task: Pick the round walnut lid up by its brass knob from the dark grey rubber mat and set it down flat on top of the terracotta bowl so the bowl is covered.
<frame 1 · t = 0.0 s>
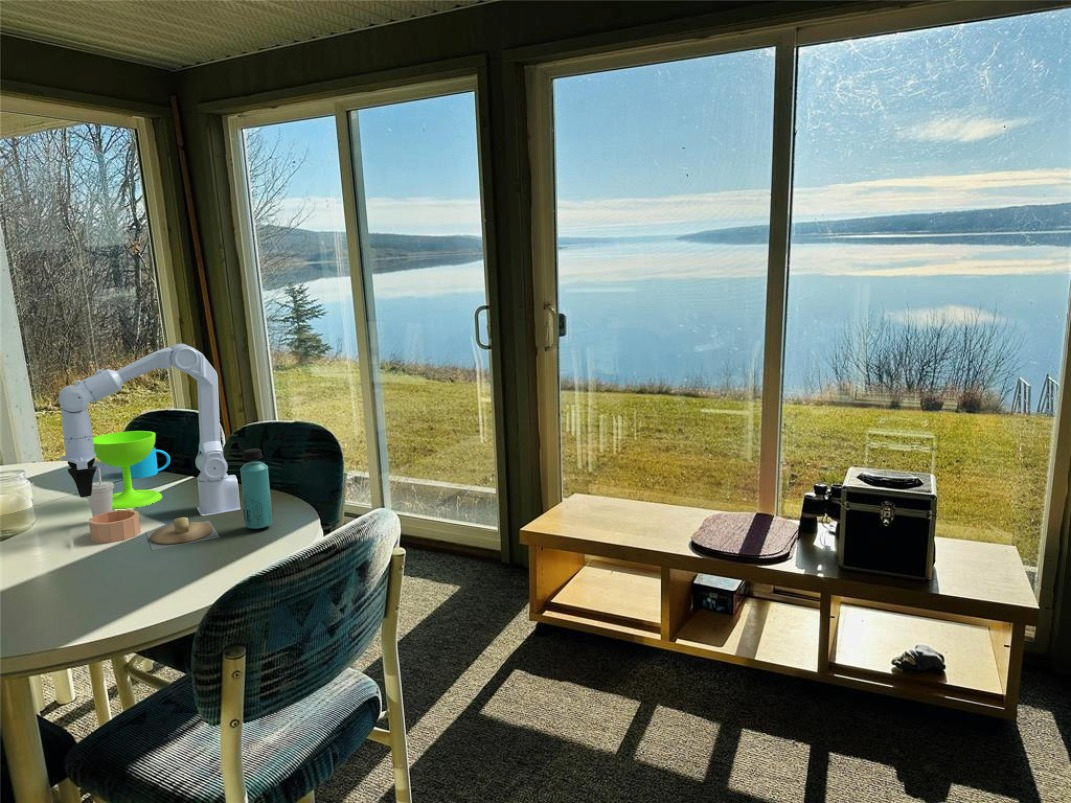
hand: (85, 492, 169), 10 cm above the table, tool pointing down, fingers open, 7 cm apart
bowl: (116, 537, 167), on the table
smoothie: (103, 523, 178), on the table
wineglass: (129, 501, 195), on the table
lid: (182, 534, 167), resting on mat
mug: (150, 474, 223), on the table
beverage bottle: (259, 530, 171), on the table
mat: (182, 536, 167), on the table
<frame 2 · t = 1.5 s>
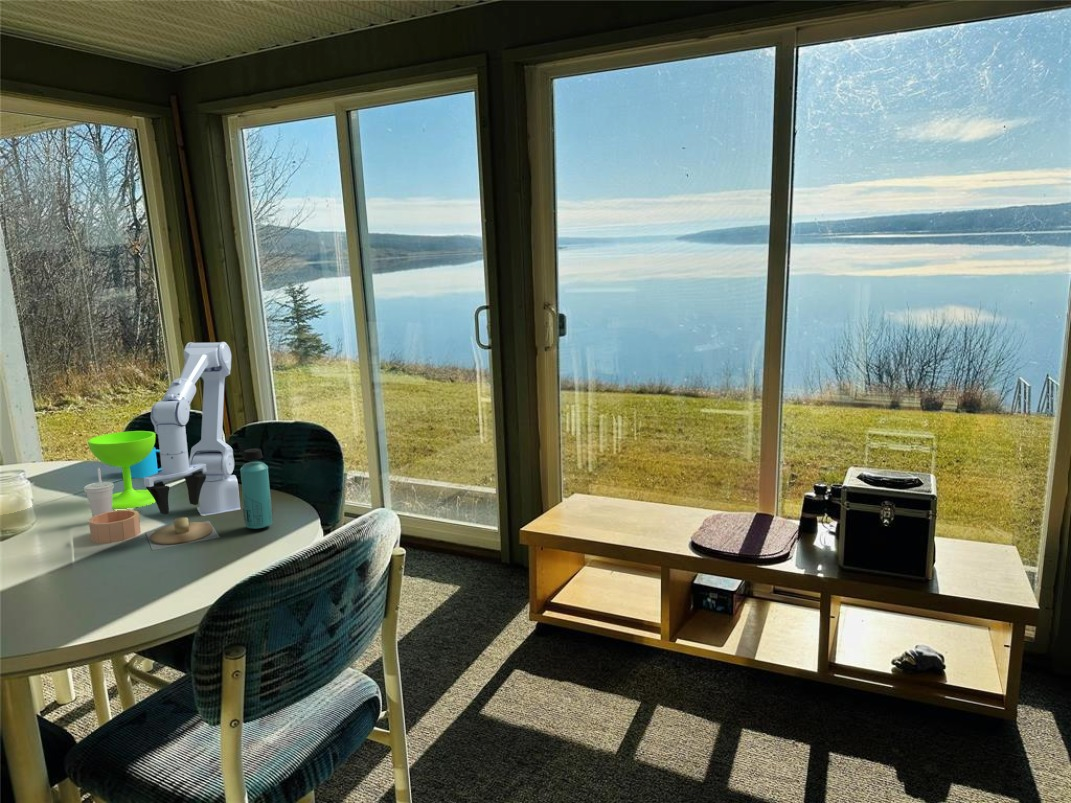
hand: (179, 508, 166), 7 cm above the table, tool pointing down, fingers open, 7 cm apart
nothing on the table moved.
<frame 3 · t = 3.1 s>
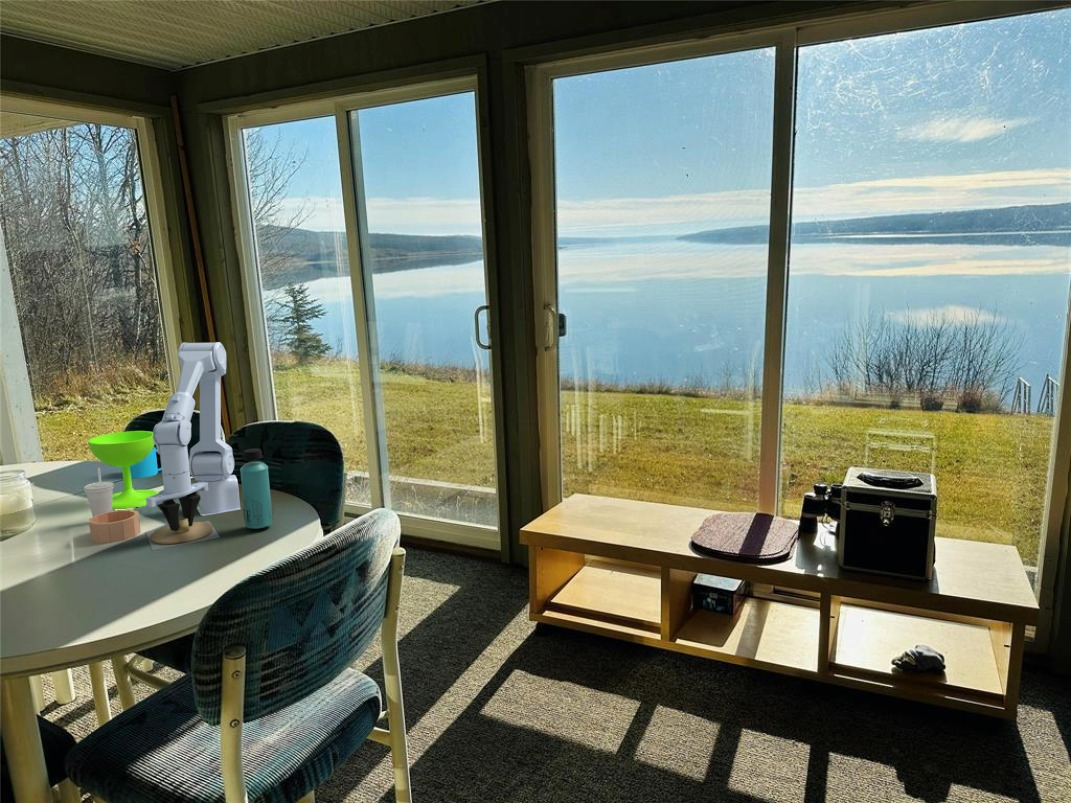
hand: (181, 527, 167), 2 cm above the table, tool pointing down, fingers closed on lid, 3 cm apart
lid: (182, 534, 167), resting on mat, touching gripper
everything else where it was.
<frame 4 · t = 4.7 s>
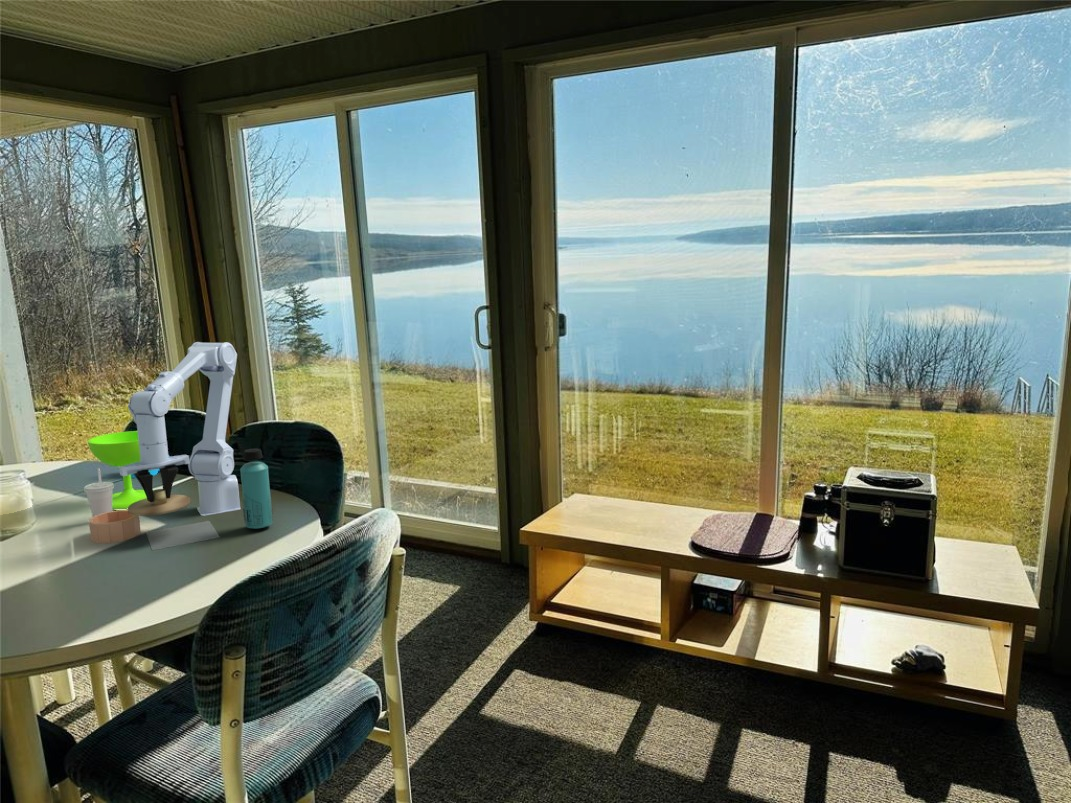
hand: (159, 499, 166), 9 cm above the table, tool pointing down, fingers closed on lid, 3 cm apart
lid: (160, 506, 166), point 7 cm above the table, touching gripper
everything else where it was.
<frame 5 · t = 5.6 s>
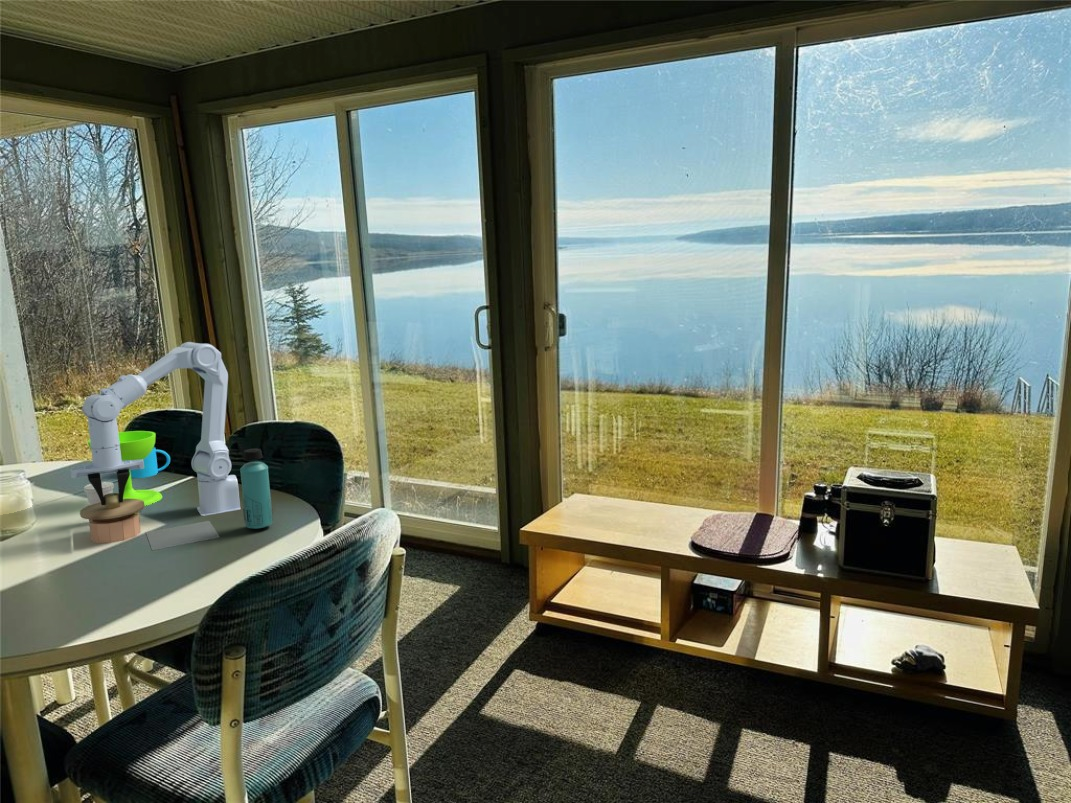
hand: (112, 502, 166), 8 cm above the table, tool pointing down, fingers closed on lid, 3 cm apart
lid: (113, 510, 166), point 7 cm above the table, touching gripper
everything else where it was.
when the fingers open (8 cm above the table, at t = 6.4 s): lid drops 1 cm, resting on bowl.
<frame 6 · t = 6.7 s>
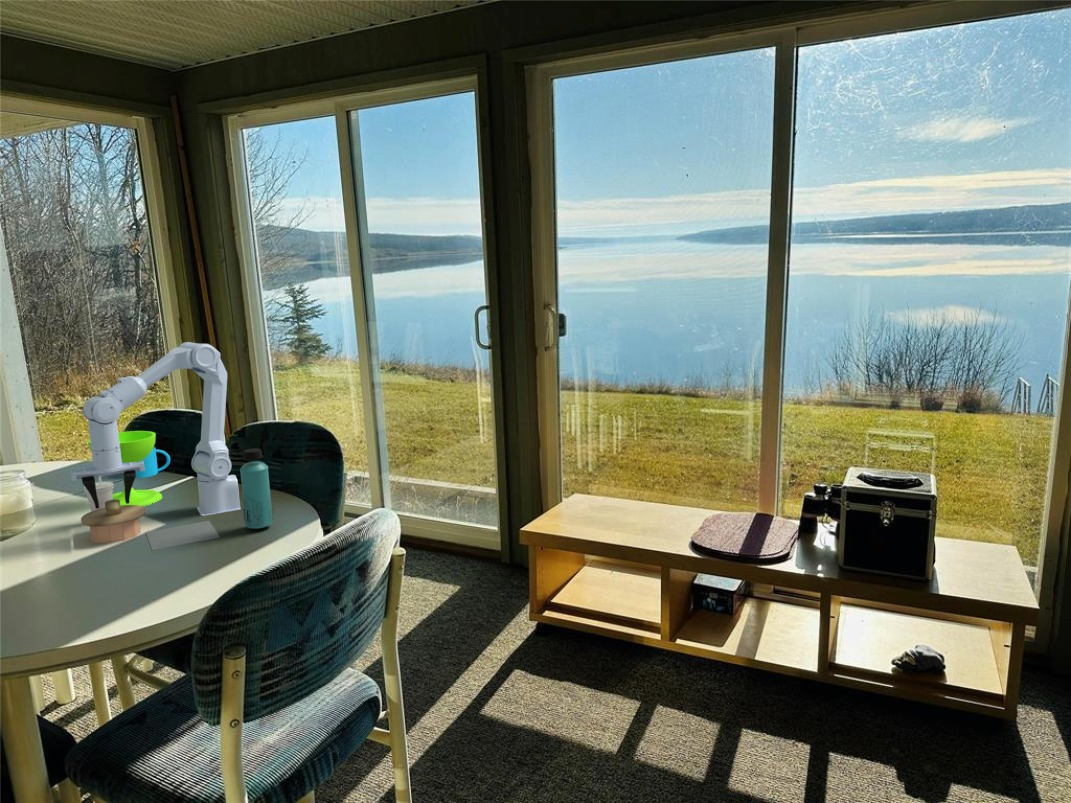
hand: (112, 504, 166), 8 cm above the table, tool pointing down, fingers open, 5 cm apart
lid: (114, 516, 166), point 5 cm above the table, touching bowl
everything else where it was.
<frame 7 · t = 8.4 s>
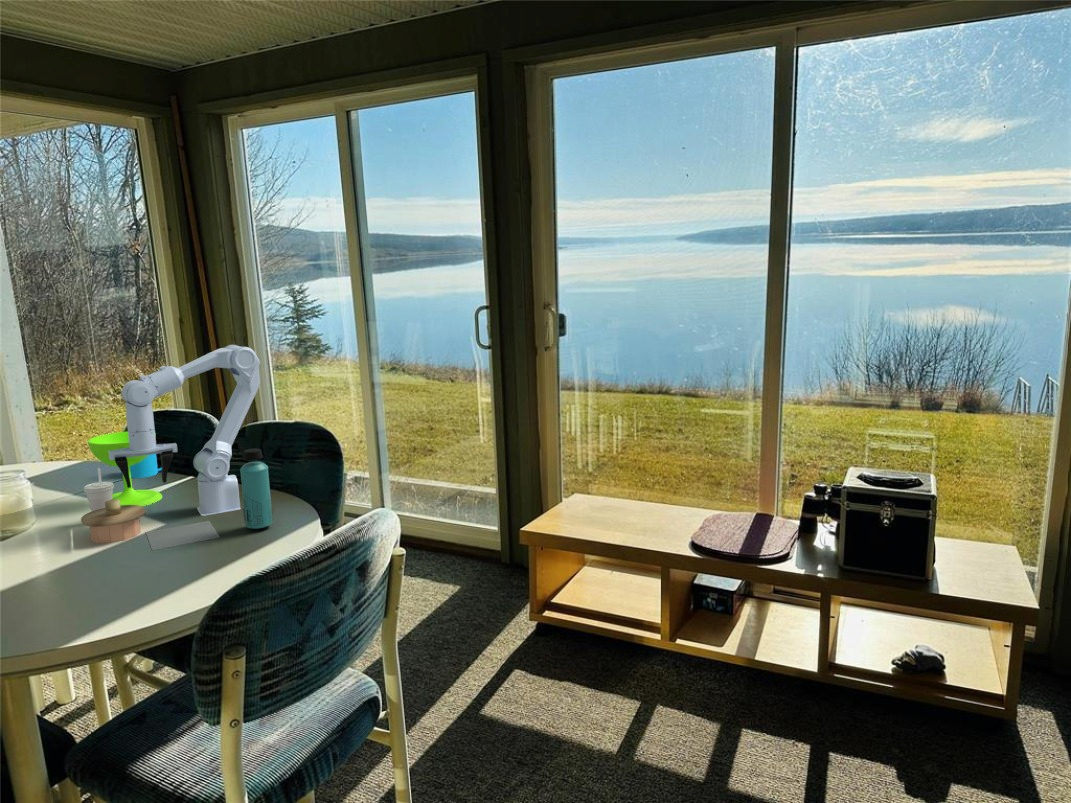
hand: (146, 484, 174), 10 cm above the table, tool pointing down, fingers open, 7 cm apart
nothing on the table moved.
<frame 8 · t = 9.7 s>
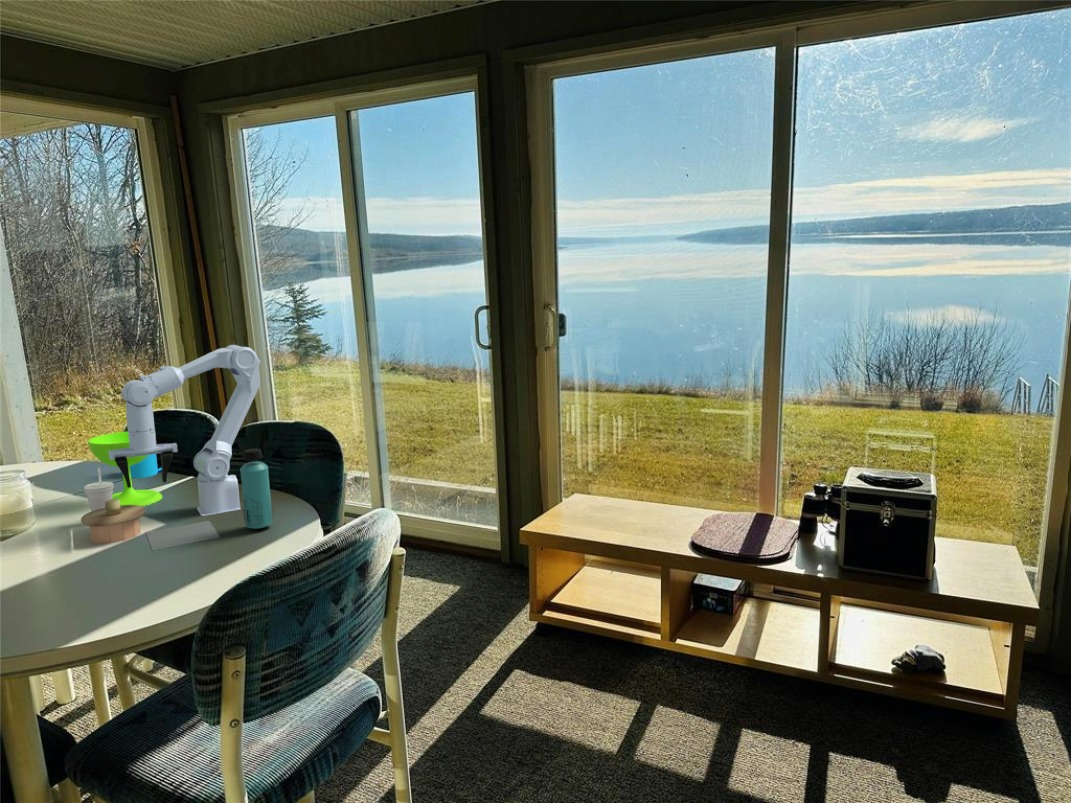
hand: (146, 484, 174), 10 cm above the table, tool pointing down, fingers open, 7 cm apart
nothing on the table moved.
at the end: lid 0.2 cm from the bowl (horizontally); lid point 5.0 cm above the table; lid tilted 0° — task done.
